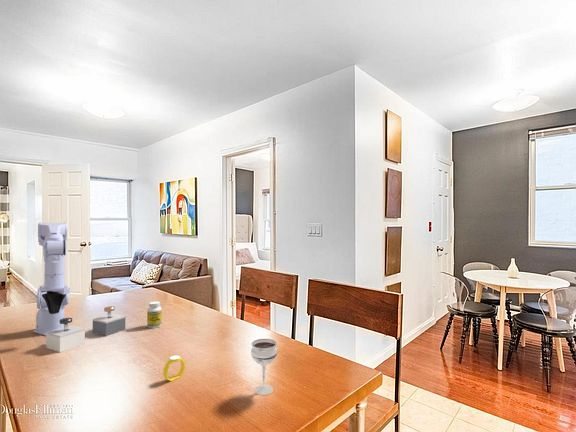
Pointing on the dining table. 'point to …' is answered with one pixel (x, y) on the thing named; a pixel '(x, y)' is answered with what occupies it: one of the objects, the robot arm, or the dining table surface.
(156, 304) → the supplement bottle
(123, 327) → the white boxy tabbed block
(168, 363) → the gold diamond ring
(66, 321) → the doorknob dark gray
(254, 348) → the wineglass
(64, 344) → the press white
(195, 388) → the dining table surface
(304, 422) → the dining table surface
